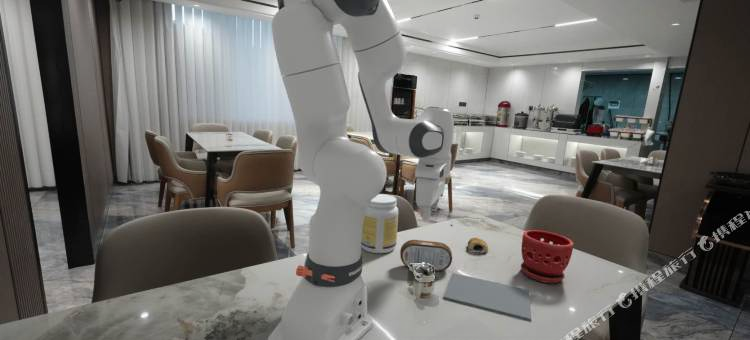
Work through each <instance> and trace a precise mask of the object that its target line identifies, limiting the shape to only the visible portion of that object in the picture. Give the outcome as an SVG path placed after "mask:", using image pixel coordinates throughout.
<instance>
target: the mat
mask: <svg viewBox="0 0 750 340" xmlns="http://www.w3.org/2000/svg"><path fill="white" fill-rule="evenodd" d="M450 276H451V277H450V279H449V282H448V284H447V286H446V288H445V292H444V294H443V299H444V300H448V301H453V302H456V303H460V304H464V305H468V306H471V307H475V308H479V309H484V310H487V311H491V312H495V313H498V314H503V315H506V316H511V317H515V318H518V319H523V320H526V321H530V322H531V321H532V311H531V299H530V290H529V289H526V288H521V287H517V286H513V285H508V284H505V283H500V282H494V281H491V280H486V279H481V278H478V277H473V276H468V275H465V274H460V273H456V272H452V274H451V275H450Z"/></svg>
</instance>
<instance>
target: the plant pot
mask: <svg viewBox="0 0 750 340" xmlns="http://www.w3.org/2000/svg"><path fill="white" fill-rule="evenodd" d="M542 239H543V240H542ZM574 245H575V244H574V242H573V241H572V240H571V239H570V238H567V237H566V236H563V235H561V234H557V233H555V232H551V231H550V232H549V231H546V230H538V229H537V230H536V229H534V230H532V229H531V230H530V229H529V230H524V232H523V234H522V238H521V258H522V260H523V262H522V263H521V264H520V268H521V270H522V272H523V273H524V274H525V275H527V276H528V277H529V278H531V279H533V280H536V281H538V282H542V283H543V282H544V283H553V284H555V283H559V282H561V281H563V280H564V278H565V276H566V274H565V273H564V271H565V270H566V269H567V267H568V265H569V263H570V261H571V258H572V254H573V251H574Z"/></svg>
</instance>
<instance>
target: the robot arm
mask: <svg viewBox="0 0 750 340" xmlns="http://www.w3.org/2000/svg"><path fill="white" fill-rule="evenodd" d="M277 8H278V11H276V13H275V14H274V15H273V18H272V21H271V33H272V40H273V46H274V51H275V57H276V60H277V64H278V69H279V72H280V75H281V78H282V82H283V86H284V88H285V91H286V96H287V98H288V102H289V104H290V109H291V111H292V116H293V119H294V124H295V131H296V132H295V133H296V140H297V147H298V155H297V162H298V166H299V168H300V170H301V172H302V173H303V175H304V176H305V177H306V178H307V180H309V181H310V182H311V183H313V184H314V185H317V186H318V187H319V193H320V194H319V199H318V203H317V206H316V210H315V212H314V214H313V215H311V217H310V219H309V222H308V223H309V224H308V225H309V226H308V227H309V229H308V253H307V254H306V258H305V261H304V265H298V266H297V267H296V269H295V275H296V276H298V277H301V279H300V281H299V282H298V284H297V285H296V287H295V289H294V290H293V292H292V294H291V296H290V298H289V300H288V302H287V303H286V305H285V307H284V308H283V310H282V315H281V320H280V321H279V323H278V324H277V325H276V326H275V328H274V329H273V330H272V332H271V333H270V335H269V336H268V338H267V340H360V338H362V336H364V335H365V334H366V333H367V332H369V330H370V329H372V328H373V319H372V318H371V316H369V315H368V289H367V285H366V284H365V282H364V279H363V277H362V275H361V274H362V272H363V265H364V261H363V254H362V253H361V252H362V247H361V242H362V228H363V221H364V217H365V214H366V211H367V208H368V206H369V203H370V201H371V200H372V199H373V198H375V197H376V196H377V195H378V194H381V192H382V190H383V188H384V186H385V184H386V183H387V177H388V176H387V175H388V174H387V173H388V172H387V166H386V162H385V161H384V159H383V158H382V157H381V155H380V154H378V153H377V152H376V151H375V150H373V149H372V148H370V147H368V146H367V145H366V144H363V143H359V142H356V141H351V140H350V139H349V136H348V131H347V116H348V115H347V114H348V111H349V110H350V107H351V99H350V96H349V91H348V87H347V84H346V79H345V75H344V71H343V67H342V63H341V60H340V56H339V53H338V49H337V46H336V43H335V40H334V37H333V34H334V33H333V31H334V26H335V25H339V24H340V25H341V26H342V27H343V28H344V30H345V32H346V35H347V39H348V41H349V44H350V46H351V50H352V51H353V54H354V56H355V59H356V62H357V66H358V73H357V74H358V75H357V78H358V84H359V87H360V91H361V94H362V97H363V102H364V104H365V108H366V110H367V113H368V114H367V115H368V118H369V119H370V123H371V124H370V125H371V128H372V129H371V131H372V132H371V133H372V138H373V142H374V146H375V147H376V148H377V150H379V152H381V153H383V154H391V155H399V156H403V157H409V158H415V159H418V162H417V166H416V168H415V171H414V177H415V178H416V182H415V183H416V184H415V185H416V186H415V203H416V206H417V207H419V208H421V211H422V218H421V219H422V220H423V221H426V222H427V221H429V220H430V219H431V211H433V212H436V211H437V210H438V205H439V200H440V197H441V196H442V195H443V194H444V192H445V188H446V186H445V185H446V176H449V175H450V174H451V166H452V152H451V151H452V150H451V149H452V145H453V142H454V135H455V133H454V132H455V131H454V128H455V123H454V122H455V121H454V115H453V113H452V111H450V110H449V109H447V108H443V107H437V106H428V107H426V108H424V112H422V113H421V114H420V115H418V116H417V117H414V118H413V119H412V118H411V119H410V118H409V119H408V118H400V117H399V116H396V115H395V114H394V113H393V111H392V109H391V105H390V100H389V97H388V95H387V89H386V86H387V85H386V84H387V81H389V80H391V79H392V78H393V77H395V76H396V75H397V74H398V73H399V72H400V70H401V69H402V68H403V66H404V64H405V61H406V57H407V53H406V52H407V51H406V46H405V44H406V43H405V41H404V39H403V36H402V35H403V34H402V32H401V29H400V28H399V25H398V22H397V20H396V17H395V15H394V12H393V10H392V8H391V6H390V4H389V2H388V1H387V0H277Z"/></svg>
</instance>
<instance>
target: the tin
mask: <svg viewBox="0 0 750 340" xmlns="http://www.w3.org/2000/svg"><path fill="white" fill-rule="evenodd" d="M399 250H400V251H399V253H400V254H399V255H400V260H401V262H402V263H403V265H404V266H405V267H406V268H408V265H409V264H410V263H422V262H425V263H429V264H431V265H433V266H434V267H435V271H434V272H436V273H437V272H444V271H446V270H447V269H449V268H450V266H451V265H452V261H453V253H452V250H451V248H450V247H449V246H448V245H447V244H445V243H443V242H439V241H431V240H430V241H429V240H421V239H409V240H407V241H406V242H403V244H402V246H401V248H400V249H399Z"/></svg>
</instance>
